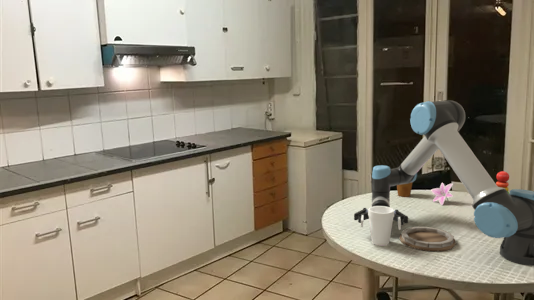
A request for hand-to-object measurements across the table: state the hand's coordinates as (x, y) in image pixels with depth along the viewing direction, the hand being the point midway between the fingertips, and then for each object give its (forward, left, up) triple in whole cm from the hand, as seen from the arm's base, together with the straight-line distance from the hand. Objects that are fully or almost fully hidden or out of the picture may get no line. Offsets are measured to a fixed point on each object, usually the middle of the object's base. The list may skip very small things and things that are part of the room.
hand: (380, 225), depth 161 cm
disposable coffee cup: (+45, -57, -8) cm, 73 cm away
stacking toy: (+2, -73, -8) cm, 73 cm away
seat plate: (-6, -18, -8) cm, 20 cm away
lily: (+26, -63, -8) cm, 69 cm away
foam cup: (+2, -2, -8) cm, 9 cm away
